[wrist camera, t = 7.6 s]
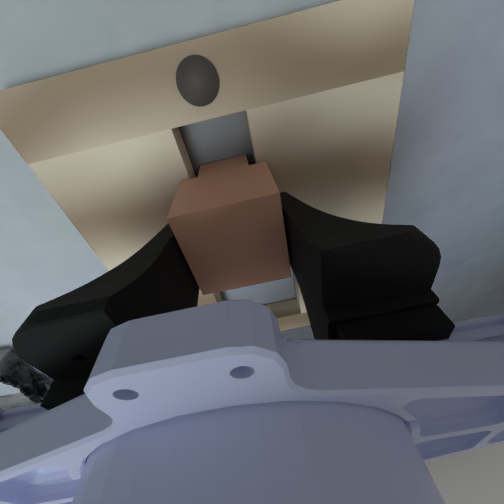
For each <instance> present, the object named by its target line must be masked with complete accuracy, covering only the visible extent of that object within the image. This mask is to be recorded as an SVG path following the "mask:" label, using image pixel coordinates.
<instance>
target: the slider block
mask: <svg viewBox="0 0 504 504" xmlns="http://www.w3.org/2000/svg"><path fill="white" fill-rule="evenodd" d="M166 219H167V221H168V223H169V225H170V227H171V229H172V231H173V233H174V236H175V238H176V240H177V242H178V244H179V246H180V248H181V250H182V252H183V254H184V256H185V259H186V261H187V263H188V265H189V267H190V269H191V271H192V273H193V275H194V277H195V279H196V282H197V284H198V286H199V288H200V290H201V292H202V294H203V295H207V294H211V293H216V292H221V291H226V290H230V289H235V288H240V287H245V286H250V285H254V284H259V283H264V282H269V281H274V280H278V279H283V278H288V277H291V270H290V263H289V255H288V248H287V241H286V234H285V227H284V219H283V212H282V205H281V198H280V192H279V190H278V188H277V185H276V183H275V181H274V179H273V176H272V174H271V172H270V169H269V167H268V165H267V163H266V161H264V162H260V163H256V164H251V165H248V161H247V157H246V155H242V156H237V157H233V158H229V159H225V160H220V161H216V162H212V163H208V164H204V165H200V169H199V173H198V177H196V178H191V179H187V180H183V181H180V184H179V187H178V189H177V192H176V195H175V197H174V200H173V202H172V205H171V208H170V210H169V213H168V215H167V218H166Z"/></svg>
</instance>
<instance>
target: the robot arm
mask: <svg viewBox="0 0 504 504" xmlns="http://www.w3.org/2000/svg"><path fill="white" fill-rule="evenodd" d="M280 198H281V205H282V212H283V219H284V227H285V234H286V241H287V248H288V255H289V263H290V265H291V268H292V270H293V272H294V275H295V277H296V279H297V282H298V285H299V287H300V291H301V294H302V297H303V301H304V304H305V307H306V311H307V314H308V318H309V321H310V324H311V328H312V332H313V335H314V339H315V340H291V339H283V337H282V335H281V332H280V328H279V323H278V319H277V318H276V316H275V315H274V314H273V312H272V311H271V310H270V308H269V307H267V306H264V305H261V304H259V303H256V302H253V301H251V300H226V301H221V302H216V303H211V304H207V305H202V306H198V296H199V289H200V288H199V286H198V284H197V282H196V279H195V277H194V275H193V273H192V271H191V269H190V267H189V265H188V263H187V261H186V259H185V256H184V254H183V252H182V250H181V248H180V246H179V244H178V242H177V240H176V238H175V236H174V233H173V231H172V229H171V227H170V225H169V223H168V224H167V225H166V226H165V227H164V228H163V229H162V230H161V231H160V232H158V233H157V234H156V235H155V236H154V237H153V238H152V239H151V240H150V241H149V242H148V243H147V244H145V245H144V246H143V247H142V248H141V249H140V250H138V251H137V252H136V253H135V254H133V255H132V256H131V257H129V258H128V259H127V260H125V261H124V262H123V263H121V264H120V265H118V266H116V267H115V268H113V269H112V270H110V271H108V272H107V273H105V274H103V275H102V276H100V277H98V278H97V279H95V280H93V281H91V282H89V283H87V284H85V285H83V286H81V287H79V288H77V289H75V290H73V291H71V292H69V293H67V294H65V295H62V296H60V297H58V298H55V299H53V300H51V301H48V302H46V303H44V304H41V305H39V306H37V307H36V308H35V309H34V310H33V311H32V312H31V314H30V315H29V316H28V317H27V319H26V320H25V321H24V323H23V324H22V325H21V326H20V328H19V329H18V330H17V332H16V333H15V335H14V337H13V339H12V343H13V347H14V349H15V351H16V352H17V354H18V355H19V356H20V357H21V358H22V359H24V360H25V361H26V362H28V363H29V364H31V365H32V366H34V367H35V368H37V369H38V370H40V371H41V372H43V373H44V374H46V375H47V376H49V377H50V378H52V379H54V381H53V383H52V384H51V386H50V388H49V390H48V392H47V394H46V395H45V397H44V399H43V401H42V403H37V404H32V405H27V406H22V407H17V408H12V409H6V410H3V408H2V407H0V504H445V502H444V500H443V498H442V496H441V494H440V492H439V490H438V488H437V486H436V484H435V482H434V480H433V478H432V476H431V474H430V472H429V470H428V468H427V467H426V464H425V462H424V461H427V460H431V459H435V458H440V457H444V456H448V455H452V454H456V453H461V452H465V451H469V450H473V449H477V448H482V447H485V446H490V445H494V444H498V443H503V442H504V313H503V314H498V315H493V316H488V317H483V318H477V319H472V320H467V321H462V322H457V323H453V322H452V321H451V320H450V319H449V318H448V317H447V316H446V315H445V313H444V312H443V311H442V310H441V309H440V308H439V307H438V306H437V304H438V302H439V298H438V297H437V295H436V294H435V293H434V292H433V291H432V290H431V287H432V284H433V282H434V279H435V276H436V273H437V271H438V268H439V264H440V259H441V255H440V250H439V248H438V247H437V245H436V244H435V243H434V242H433V241H432V240H431V239H429V238H428V237H427V236H426V235H425V234H424V233H422V232H421V231H420V230H419V229H418V228H416V227H415V226H414V225H386V224H376V223H367V222H361V221H355V220H350V219H346V218H342V217H338V216H335V215H332V214H328V213H326V212H323V211H320V210H318V209H316V208H314V207H311V206H309V205H307V204H306V203H304V202H302V201H300V200H298V199H297V198H295V197H293V196H292V195H290V194H289V193H287V192H280Z"/></svg>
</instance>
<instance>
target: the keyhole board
mask: <svg viewBox="0 0 504 504" xmlns="http://www.w3.org/2000/svg"><path fill="white" fill-rule="evenodd" d="M414 2H415V0H340V1H336V2H332V3H328V4H325V5H321V6H317V7H313V8H310V9H306V10H302V11H298V12H294V13H291V14H287V15H283V16H279V17H276V18H272V19H268V20H264V21H260V22H257V23H253V24H249V25H245V26H242V27H238V28H234V29H230V30H226V31H223V32H219V33H215V34H211V35H208V36H204V37H200V38H196V39H192V40H189V41H185V42H181V43H177V44H174V45H170V46H166V47H162V48H158V49H155V50H151V51H147V52H143V53H140V54H136V55H132V56H128V57H124V58H121V59H117V60H113V61H109V62H106V63H102V64H98V65H94V66H90V67H87V68H83V69H79V70H75V71H72V72H68V73H64V74H60V75H56V76H53V77H49V78H45V79H41V80H38V81H34V82H30V83H26V84H22V85H19V86H15V87H11V88H7V89H4V90H0V129H1V130H2V132H3V133H4V134H5V136H6V137H7V138H8V139H9V141H10V142H11V143H12V145H13V146H14V147H15V149H16V150H17V151H18V153H19V154H20V155H21V157H22V158H23V159H24V160H25V162H26V163H27V164H28V166H29V167H30V168H31V170H32V171H33V172H34V174H35V175H36V176H37V177H38V179H39V180H40V181H41V183H42V184H43V185H44V187H45V188H46V189H47V191H48V192H49V193H50V194H51V196H52V197H53V198H54V200H55V201H56V202H57V204H58V205H59V206H60V208H61V209H62V210H63V212H64V213H65V214H66V215H67V217H68V218H69V219H70V221H71V222H72V223H73V225H74V226H75V227H76V229H77V230H78V231H79V232H80V234H81V235H82V236H83V238H84V239H85V240H86V242H87V243H88V244H89V246H90V247H91V248H92V249H93V251H94V252H95V253H96V255H97V256H98V257H99V259H100V260H101V261H102V263H103V264H104V265H105V267H106V268H107V269H108V270H109V271H110V270H112V269H113V268H115V267H116V266H118V265H120V264H121V263H123V262H124V261H125V260H127V259H128V258H129V257H131V256H132V255H133V254H135V253H136V252H137V251H138V250H140V249H141V248H142V247H143V246H144V245H145V244H147V243H148V242H149V241H150V240H151V239H152V238H153V237H154V236H155V235H156V234H157V233H158V232H160V231H161V230H162V229H163V228H164V227H165V226H166V225H167V224H168V221H167V219H166V218H167V215H168V213H169V210H170V208H171V205H172V202H173V200H174V197H175V195H176V192H177V189H178V187H179V184H180V181H183V180H187V179H191V178H196V176H195V173H194V170H193V167H192V164H191V161H190V159H189V156H188V153H187V150H186V147H185V144H184V142H183V139H182V136H181V133H180V130H179V127H181V126H185V125H189V124H193V123H197V122H201V121H205V120H209V119H213V118H217V117H221V116H225V115H229V114H233V113H237V112H241V111H245V113H246V119H247V124H248V129H249V134H250V139H251V144H252V150H253V155H254V160H255V164H256V163H260V162H264V161H266V163H267V165H268V167H269V169H270V172H271V174H272V176H273V179H274V181H275V183H276V185H277V188H278V190H279V192H287V193H289V194H290V195H292V196H293V197H295V198H297V199H298V200H300V201H302V202H304V203H306V204H307V205H309V206H311V207H314V208H316V209H318V210H320V211H323V212H326V213H328V214H332V215H335V216H338V217H342V218H346V219H350V220H355V221H361V222H367V223H376V224H382V220H383V213H384V206H385V199H386V192H387V186H388V179H389V172H390V165H391V158H392V151H393V145H394V138H395V131H396V124H397V117H398V111H399V104H400V97H401V90H402V83H403V77H404V70H405V63H406V56H407V49H408V42H409V36H410V29H411V22H412V15H413V8H414ZM293 276H294V283H295V291H296V299H291V300H286V301H281V302H276V303H271V304H267V305H264V306H267V307H269V308H270V310H271V311H272V312H273V314H274V315H275V316H276V318H277V319H278V323H279V328H280V331H284V330H289V329H294V328H299V327H304V326H309V325H311V324H310V321H309V318H308V314H307V311H306V307H305V304H304V301H303V297H302V294H301V291H300V287H299V285H298V282H297V279H296V277H295V275H294V272H293ZM221 301H223V299H222V296H221V294H220V292H216V293H211V294H207V295H203V294H202V292H201V290H200V289H199V296H198V306H202V305H207V304H211V303H216V302H221Z"/></svg>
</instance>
